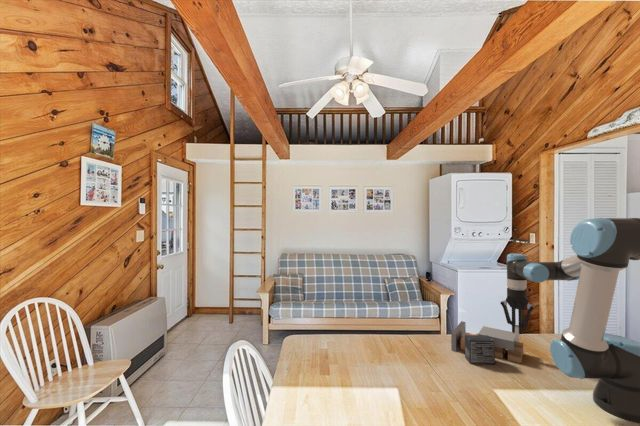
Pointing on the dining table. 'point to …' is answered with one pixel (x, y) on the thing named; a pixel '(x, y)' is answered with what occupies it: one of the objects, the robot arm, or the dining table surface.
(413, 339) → the dining table surface
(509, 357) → the bed
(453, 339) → the bar
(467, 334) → the block
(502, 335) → the slab
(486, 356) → the small box
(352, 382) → the dining table surface
